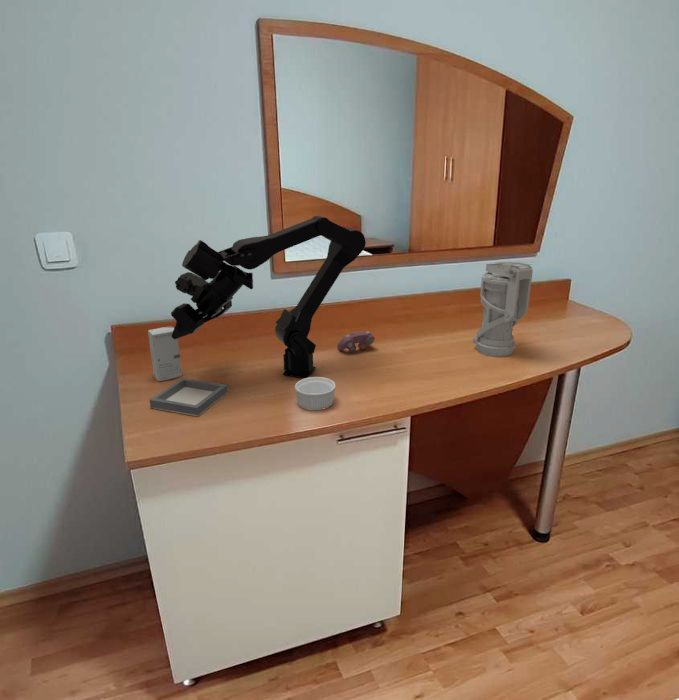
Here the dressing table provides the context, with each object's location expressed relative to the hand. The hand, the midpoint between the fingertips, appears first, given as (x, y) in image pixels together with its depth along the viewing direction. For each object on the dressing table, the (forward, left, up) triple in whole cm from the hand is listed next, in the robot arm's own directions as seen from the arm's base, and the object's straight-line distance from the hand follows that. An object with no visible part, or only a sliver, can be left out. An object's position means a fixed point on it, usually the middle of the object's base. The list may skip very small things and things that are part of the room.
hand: (183, 331), depth 121 cm
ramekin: (-34, +2, -13) cm, 36 cm away
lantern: (-70, -42, -12) cm, 83 cm away
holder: (-7, +10, -12) cm, 17 cm away
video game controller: (-33, -31, -13) cm, 47 cm away
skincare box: (+6, 0, -12) cm, 14 cm away
